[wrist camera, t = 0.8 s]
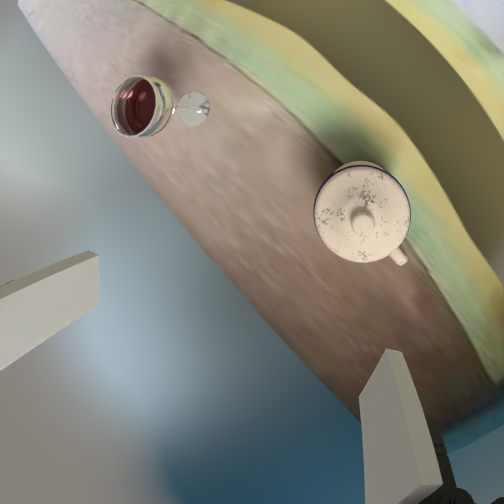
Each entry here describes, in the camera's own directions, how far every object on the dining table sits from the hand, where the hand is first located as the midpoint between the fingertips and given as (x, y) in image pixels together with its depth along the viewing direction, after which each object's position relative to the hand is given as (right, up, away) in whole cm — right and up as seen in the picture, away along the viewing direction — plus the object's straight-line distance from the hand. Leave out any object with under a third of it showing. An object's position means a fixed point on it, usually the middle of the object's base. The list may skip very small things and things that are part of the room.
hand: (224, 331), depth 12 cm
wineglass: (-7, +22, +24) cm, 33 cm away
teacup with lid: (+15, +9, +21) cm, 27 cm away
